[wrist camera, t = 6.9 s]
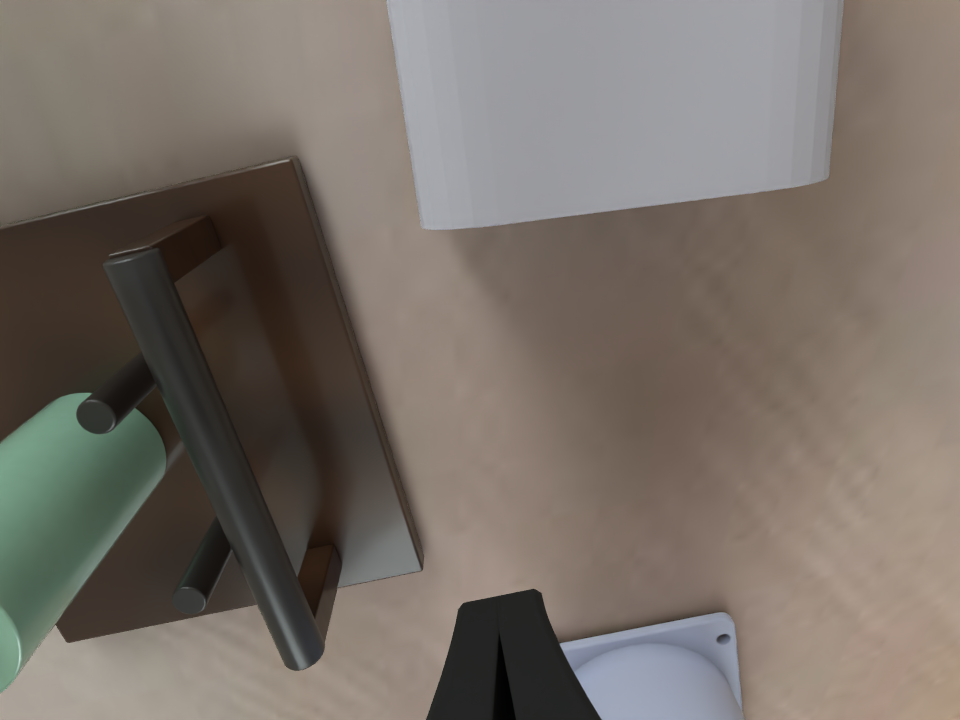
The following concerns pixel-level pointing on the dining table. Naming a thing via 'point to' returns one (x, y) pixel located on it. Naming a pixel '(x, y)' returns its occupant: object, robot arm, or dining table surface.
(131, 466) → the bottle
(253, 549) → the rack
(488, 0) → the charger
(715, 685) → the robot arm
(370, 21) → the dining table surface
